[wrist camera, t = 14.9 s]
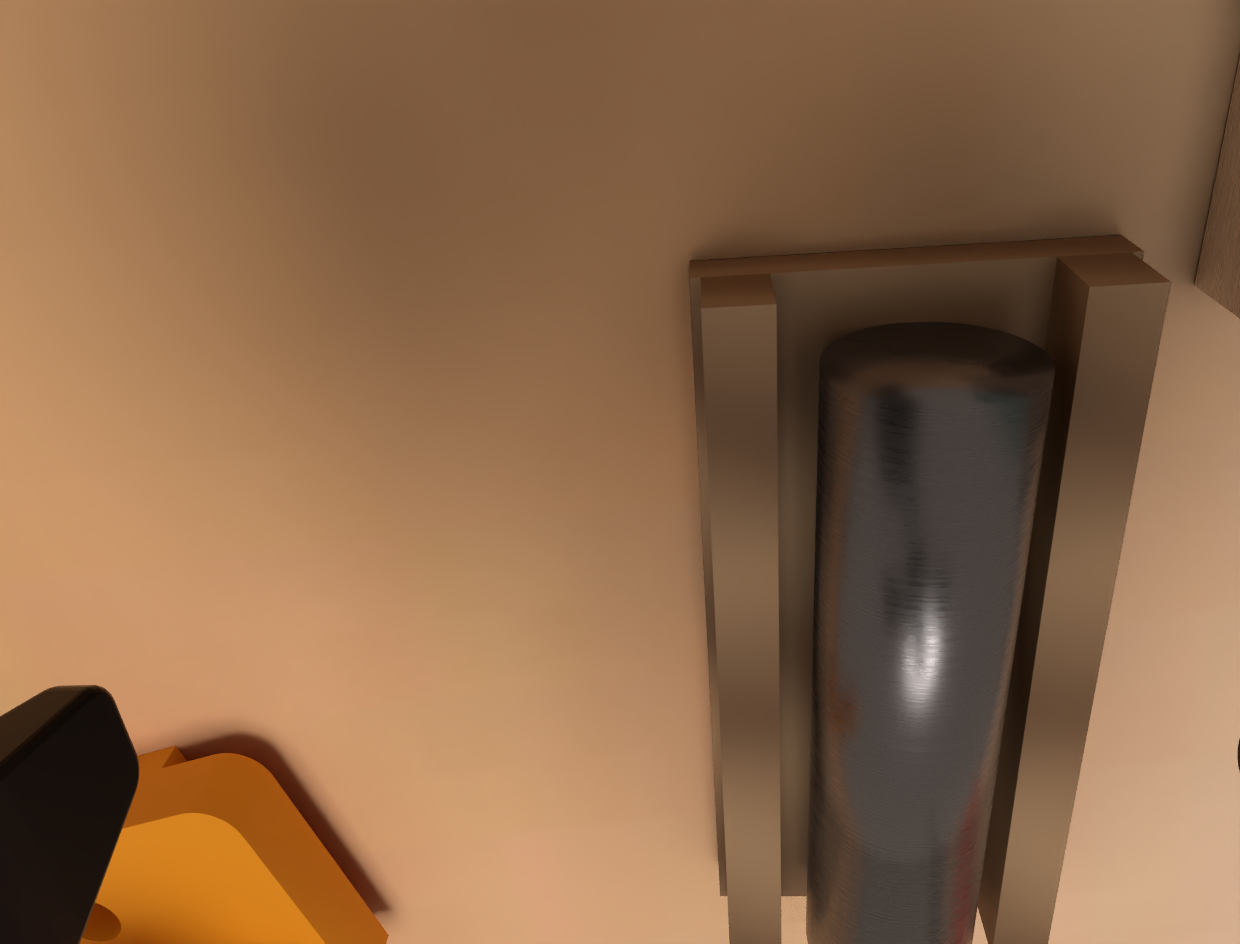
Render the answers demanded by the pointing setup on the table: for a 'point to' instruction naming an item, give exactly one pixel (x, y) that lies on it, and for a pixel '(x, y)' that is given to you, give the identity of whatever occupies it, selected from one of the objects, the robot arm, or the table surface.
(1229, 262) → the socket
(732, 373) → the rail
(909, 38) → the table surface
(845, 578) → the rod
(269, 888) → the bracket
